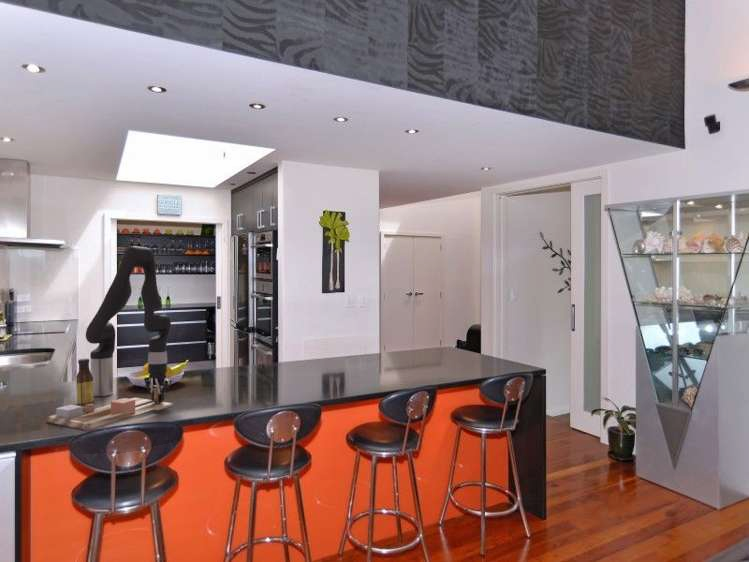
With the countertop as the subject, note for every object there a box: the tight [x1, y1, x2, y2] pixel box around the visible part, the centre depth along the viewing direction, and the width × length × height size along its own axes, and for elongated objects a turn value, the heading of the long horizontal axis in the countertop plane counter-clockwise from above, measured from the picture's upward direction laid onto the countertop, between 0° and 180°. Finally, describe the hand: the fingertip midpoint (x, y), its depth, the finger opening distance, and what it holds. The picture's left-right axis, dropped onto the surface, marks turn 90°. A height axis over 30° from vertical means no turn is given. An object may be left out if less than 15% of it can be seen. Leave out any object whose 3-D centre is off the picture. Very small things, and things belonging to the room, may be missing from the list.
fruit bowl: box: [126, 359, 190, 389], centre depth 261 cm, size 28×27×11 cm
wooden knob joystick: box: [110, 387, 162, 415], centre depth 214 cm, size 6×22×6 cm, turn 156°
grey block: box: [55, 403, 95, 419], centre depth 200 cm, size 6×13×5 cm, turn 156°
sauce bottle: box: [75, 358, 95, 406], centre depth 221 cm, size 6×6×20 cm
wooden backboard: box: [46, 397, 174, 431], centre depth 209 cm, size 22×40×3 cm, turn 156°
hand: (157, 401), depth 223 cm, fingers closed on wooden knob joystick, 3 cm apart
